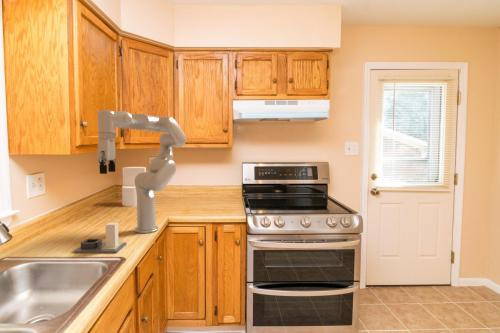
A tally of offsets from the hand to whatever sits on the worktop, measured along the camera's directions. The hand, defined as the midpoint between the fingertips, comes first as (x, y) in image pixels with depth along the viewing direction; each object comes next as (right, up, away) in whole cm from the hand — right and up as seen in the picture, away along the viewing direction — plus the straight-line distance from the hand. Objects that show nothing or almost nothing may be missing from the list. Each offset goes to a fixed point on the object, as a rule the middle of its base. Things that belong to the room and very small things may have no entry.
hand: (107, 172), depth 157 cm
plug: (+6, -33, -8) cm, 34 cm away
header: (+1, -34, -8) cm, 35 cm away
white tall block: (-21, -26, +96) cm, 102 cm away
